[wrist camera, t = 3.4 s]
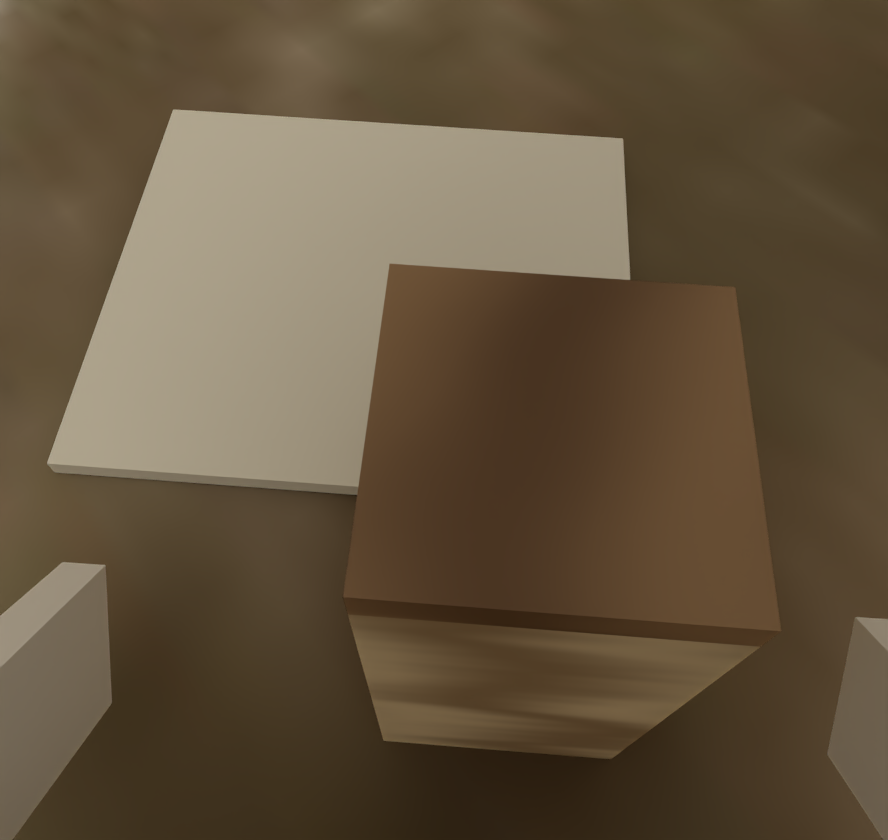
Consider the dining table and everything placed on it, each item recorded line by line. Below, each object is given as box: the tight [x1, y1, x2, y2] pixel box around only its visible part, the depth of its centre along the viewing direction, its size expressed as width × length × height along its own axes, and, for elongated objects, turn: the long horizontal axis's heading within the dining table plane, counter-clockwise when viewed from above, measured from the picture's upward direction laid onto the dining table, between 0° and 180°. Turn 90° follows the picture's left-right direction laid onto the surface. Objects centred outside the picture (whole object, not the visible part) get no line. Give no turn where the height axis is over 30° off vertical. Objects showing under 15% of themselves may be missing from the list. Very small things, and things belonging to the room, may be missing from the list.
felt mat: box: [47, 110, 630, 495], centre depth 29 cm, size 18×16×1 cm
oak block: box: [343, 264, 781, 759], centre depth 18 cm, size 6×6×12 cm
